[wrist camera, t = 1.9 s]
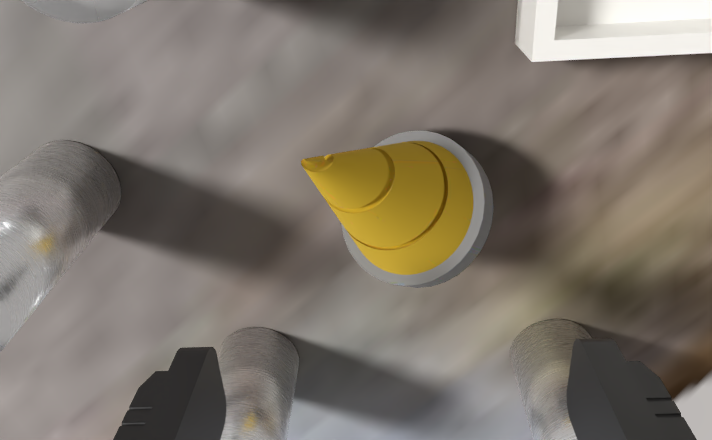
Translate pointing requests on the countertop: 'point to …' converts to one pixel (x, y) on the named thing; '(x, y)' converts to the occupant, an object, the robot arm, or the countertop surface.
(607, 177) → the countertop surface
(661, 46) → the tray
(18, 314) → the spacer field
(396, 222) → the stepped yellow cone
